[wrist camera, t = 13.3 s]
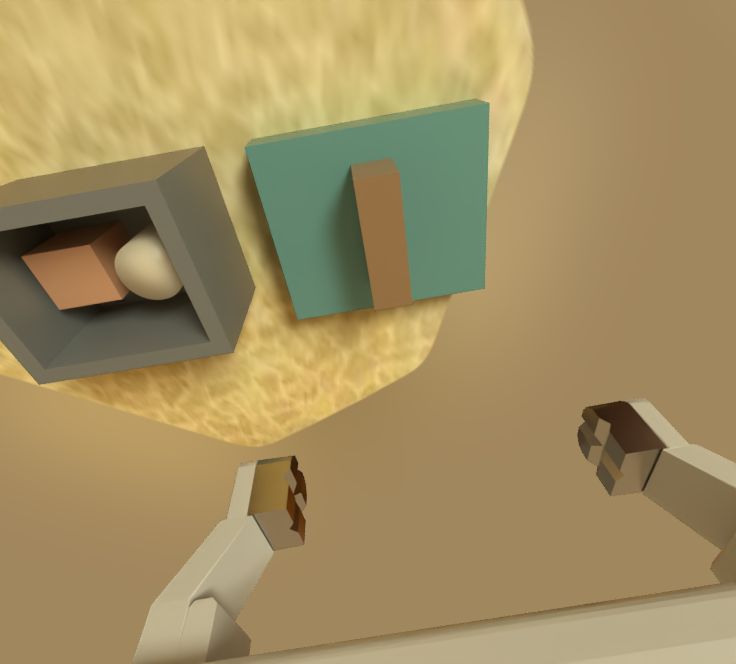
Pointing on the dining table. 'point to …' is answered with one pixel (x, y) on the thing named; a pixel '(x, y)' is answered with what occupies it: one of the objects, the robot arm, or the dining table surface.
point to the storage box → (120, 267)
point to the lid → (378, 207)
